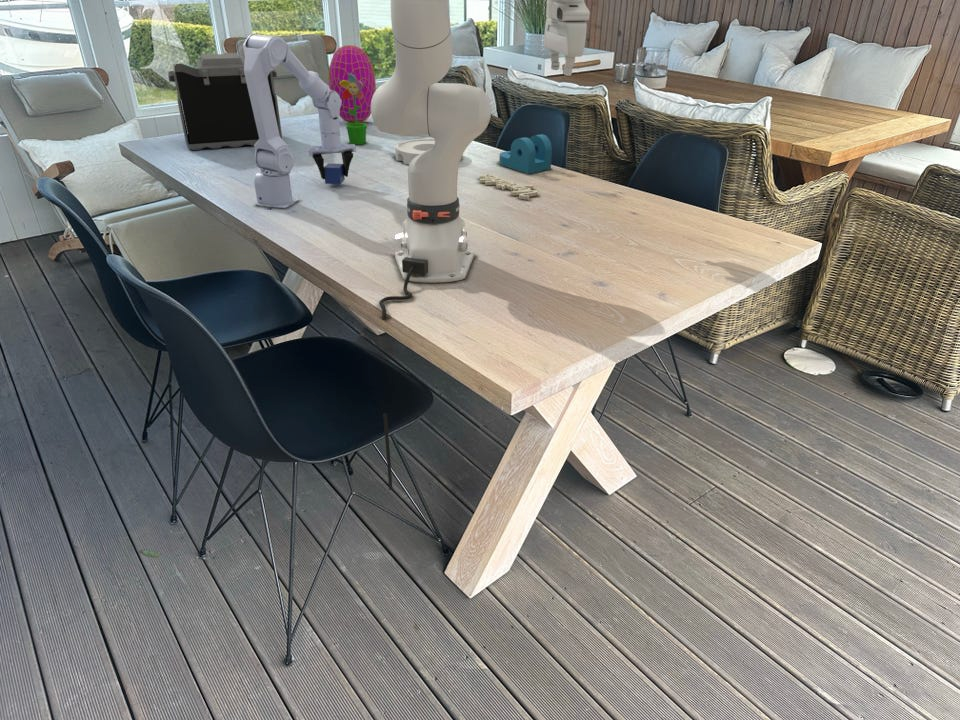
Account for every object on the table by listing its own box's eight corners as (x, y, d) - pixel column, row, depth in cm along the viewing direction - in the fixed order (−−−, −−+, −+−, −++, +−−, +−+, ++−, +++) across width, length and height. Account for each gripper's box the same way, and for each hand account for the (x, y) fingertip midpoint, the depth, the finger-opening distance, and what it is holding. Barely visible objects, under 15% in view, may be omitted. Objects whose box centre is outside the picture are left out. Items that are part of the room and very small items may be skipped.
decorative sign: (550, 191, 207) (525, 197, 202) (550, 194, 207) (525, 200, 202) (495, 172, 225) (471, 176, 220) (495, 174, 225) (471, 179, 220)
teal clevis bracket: (550, 168, 233) (552, 137, 227) (527, 173, 227) (529, 141, 222) (515, 157, 245) (516, 127, 239) (493, 162, 239) (493, 131, 234)
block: (329, 179, 215) (328, 163, 213) (344, 179, 215) (343, 163, 213) (325, 183, 211) (323, 167, 209) (340, 184, 211) (339, 168, 208)
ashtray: (454, 167, 232) (454, 155, 230) (388, 164, 235) (387, 152, 233) (466, 151, 252) (466, 140, 250) (404, 148, 255) (404, 137, 253)
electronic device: (279, 131, 276) (269, 50, 261) (287, 144, 259) (276, 57, 243) (182, 138, 265) (165, 53, 250) (183, 151, 247) (164, 61, 232)
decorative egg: (362, 116, 305) (357, 42, 290) (386, 123, 292) (382, 46, 277) (324, 121, 294) (316, 45, 279) (347, 129, 281) (340, 49, 266)
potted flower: (342, 144, 260) (336, 73, 247) (351, 139, 266) (346, 70, 254) (365, 146, 257) (360, 74, 245) (374, 141, 264) (369, 71, 251)
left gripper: (309, 136, 200) (314, 183, 206) (357, 132, 205) (361, 177, 212) (303, 132, 205) (308, 177, 212) (350, 127, 211) (354, 172, 217)
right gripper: (539, 7, 171) (536, 66, 178) (566, 13, 154) (561, 78, 161) (563, 6, 172) (559, 66, 179) (592, 12, 155) (587, 78, 162)
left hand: (334, 177), depth 212 cm, fingers closed on block, 6 cm apart
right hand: (561, 72), depth 170 cm, fingers open, 8 cm apart
